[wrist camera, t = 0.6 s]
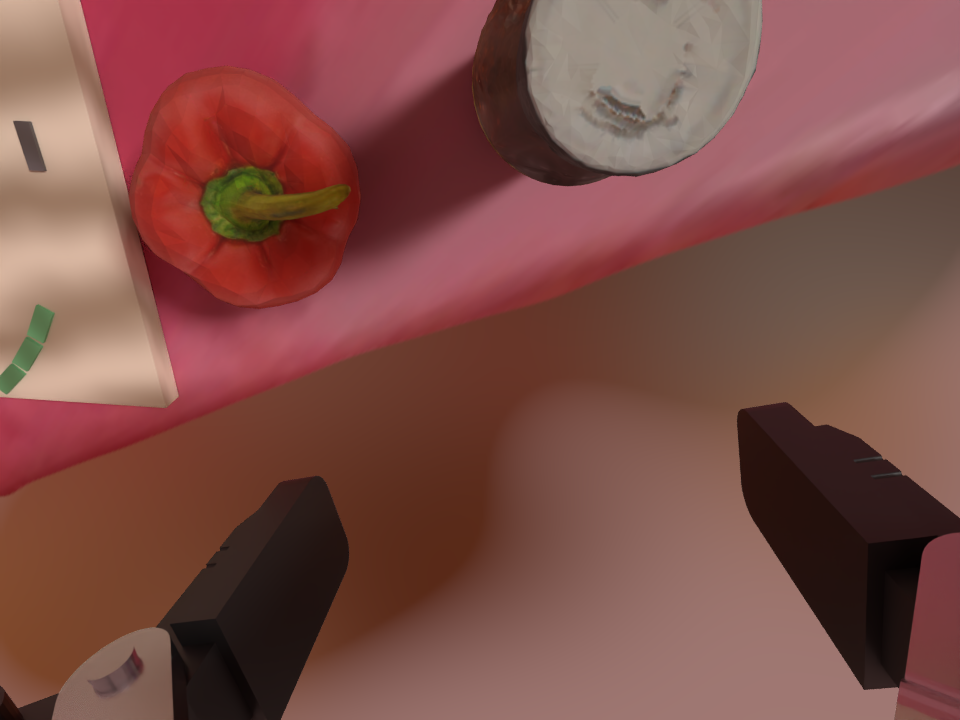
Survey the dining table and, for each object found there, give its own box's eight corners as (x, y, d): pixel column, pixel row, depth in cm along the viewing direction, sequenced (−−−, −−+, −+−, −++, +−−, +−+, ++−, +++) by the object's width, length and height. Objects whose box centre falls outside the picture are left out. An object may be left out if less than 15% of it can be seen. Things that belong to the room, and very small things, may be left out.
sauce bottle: (528, 182, 28) (568, 324, 11) (453, 84, 26) (351, 58, 9) (630, 96, 26) (891, 96, 9) (557, -18, 24) (702, -325, 7)
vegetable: (376, 58, 26) (311, 38, 17) (410, 258, 31) (373, 324, 22) (172, 85, 27) (9, 78, 18) (235, 275, 32) (130, 345, 23)
